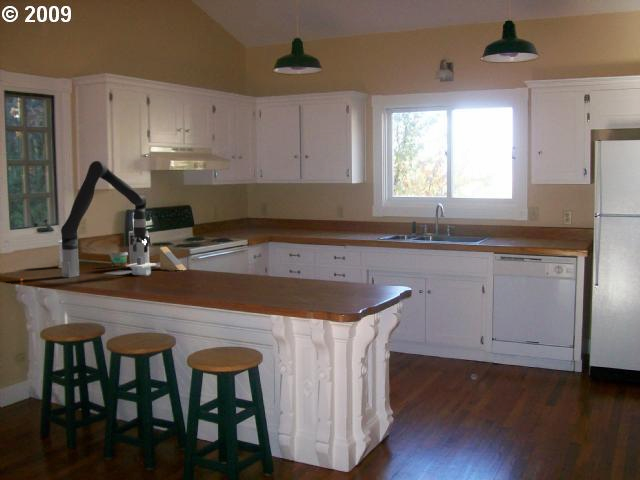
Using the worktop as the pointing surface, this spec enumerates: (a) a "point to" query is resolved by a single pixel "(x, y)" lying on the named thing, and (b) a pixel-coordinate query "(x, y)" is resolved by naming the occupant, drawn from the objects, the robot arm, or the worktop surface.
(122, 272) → the mat
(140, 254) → the cylinder vase
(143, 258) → the lid
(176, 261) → the sandwich container
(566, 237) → the worktop surface
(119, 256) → the food container
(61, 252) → the decorative container
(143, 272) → the pale blue block
